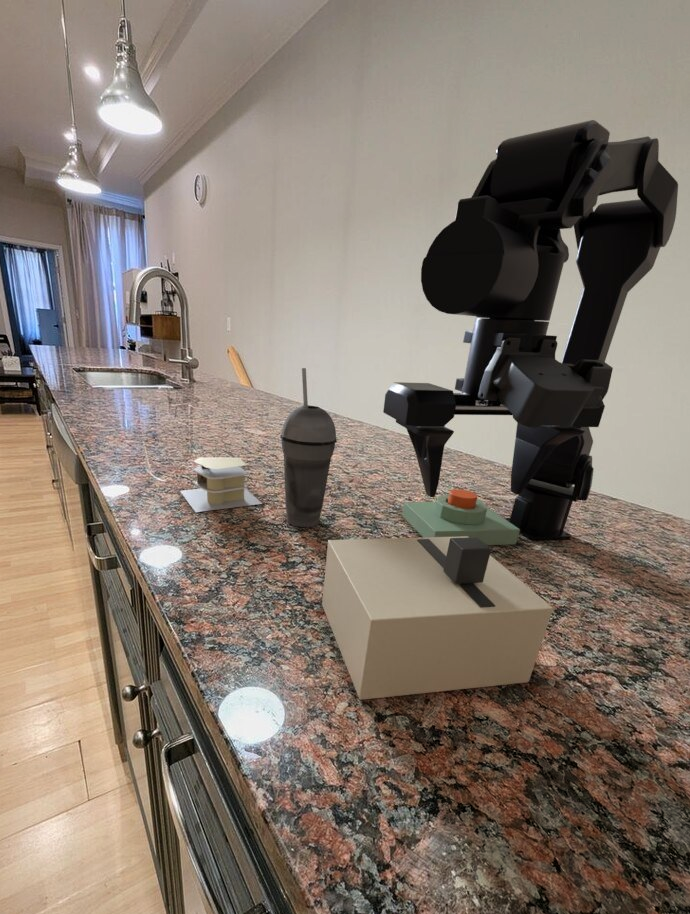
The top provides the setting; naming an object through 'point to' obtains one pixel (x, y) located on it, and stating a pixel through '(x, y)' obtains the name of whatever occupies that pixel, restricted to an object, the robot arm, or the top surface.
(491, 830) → the top surface
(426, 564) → the beige slider box
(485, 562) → the toaster slider
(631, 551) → the top surface
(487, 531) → the block
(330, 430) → the beverage cup
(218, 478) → the stacked layers on plate
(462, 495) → the button
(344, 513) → the top surface
